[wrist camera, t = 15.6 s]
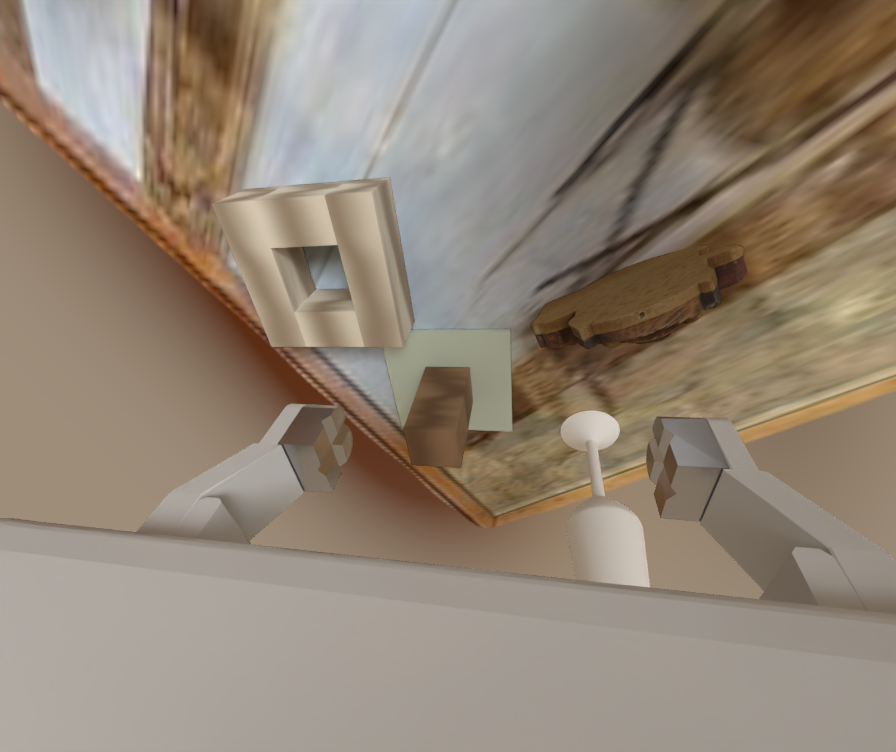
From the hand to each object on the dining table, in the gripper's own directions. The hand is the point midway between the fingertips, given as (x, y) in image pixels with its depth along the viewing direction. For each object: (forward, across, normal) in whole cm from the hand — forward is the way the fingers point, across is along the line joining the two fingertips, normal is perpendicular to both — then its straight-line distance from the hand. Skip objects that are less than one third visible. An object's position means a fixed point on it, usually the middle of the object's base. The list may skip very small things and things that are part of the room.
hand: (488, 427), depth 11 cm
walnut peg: (+29, +8, +21) cm, 36 cm away
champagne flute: (+29, -8, +28) cm, 41 cm away
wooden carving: (+29, -9, +9) cm, 32 cm away
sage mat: (+29, +8, +21) cm, 37 cm away
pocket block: (+29, +18, +6) cm, 35 cm away
